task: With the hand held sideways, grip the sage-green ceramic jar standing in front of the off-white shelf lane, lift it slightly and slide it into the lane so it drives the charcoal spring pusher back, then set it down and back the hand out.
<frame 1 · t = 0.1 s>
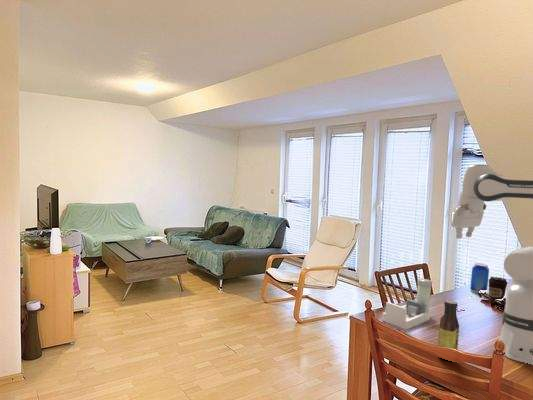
hand: (463, 237, 158), 39 cm above the table, tool pointing down, fingers open, 8 cm apart
pusher lane: (406, 320, 170), on the table
beer can: (478, 292, 219), on the table
jar: (421, 313, 179), on the table
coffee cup: (495, 303, 202), on the table
sauce bottle: (446, 358, 136), on the table
pusher: (414, 308, 173), point 4 cm above the table, slide at 0.0 cm
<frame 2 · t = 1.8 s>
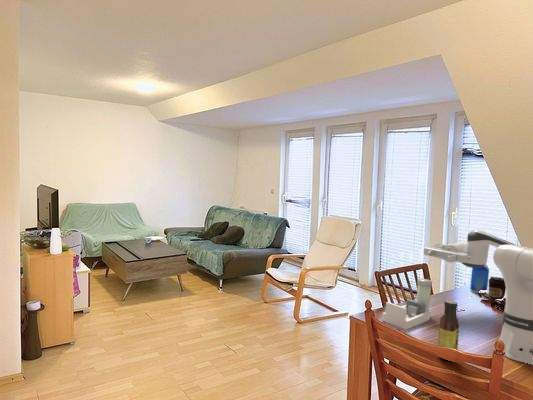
hand: (438, 256, 184), 26 cm above the table, tool horizontal, fingers open, 8 cm apart
nothing on the table moved.
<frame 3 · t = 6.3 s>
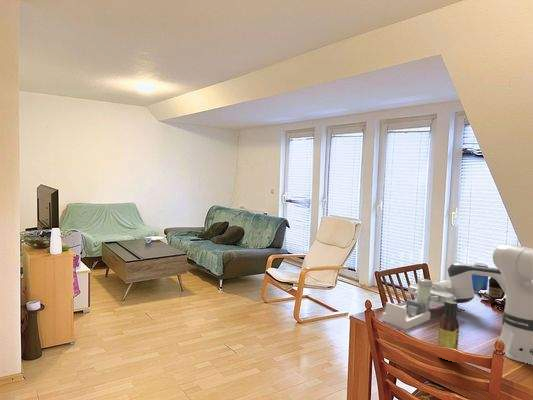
hand: (422, 297, 178), 8 cm above the table, tool horizontal, fingers closed on jar, 6 cm apart
jar: (421, 313, 179), on the table, touching gripper
everything else where it was.
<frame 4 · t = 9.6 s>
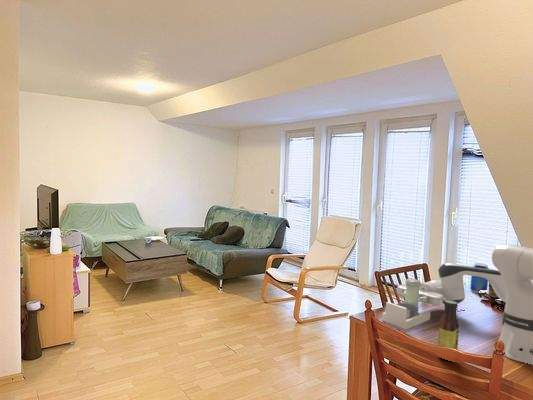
hand: (410, 297, 172), 9 cm above the table, tool horizontal, fingers closed on jar, 6 cm apart
jar: (410, 315, 173), point 1 cm above the table, touching gripper, pusher
pusher: (406, 311, 169), point 4 cm above the table, slide at 6.4 cm, touching jar
everything else where it was.
when the fingers open (9 cm above the table, at t = 11.7 s): jar stays where it is, resting on pusher lane.
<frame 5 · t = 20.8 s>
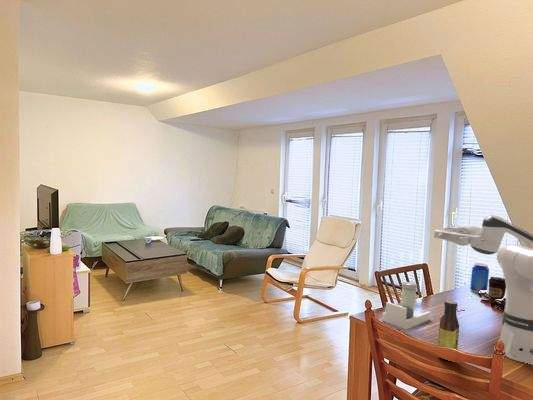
hand: (450, 238, 175), 36 cm above the table, tool horizontal, fingers open, 8 cm apart
jar: (406, 318, 170), resting on pusher lane
pusher: (401, 313, 166), point 4 cm above the table, slide at 10.7 cm
everything else where it was.
at the end: jar inside the target area on the pusher lane (1.8 cm from its centre), point 0.4 cm above the pusher lane's base; jar tilted 1°; pusher slide at 10.7 cm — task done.
